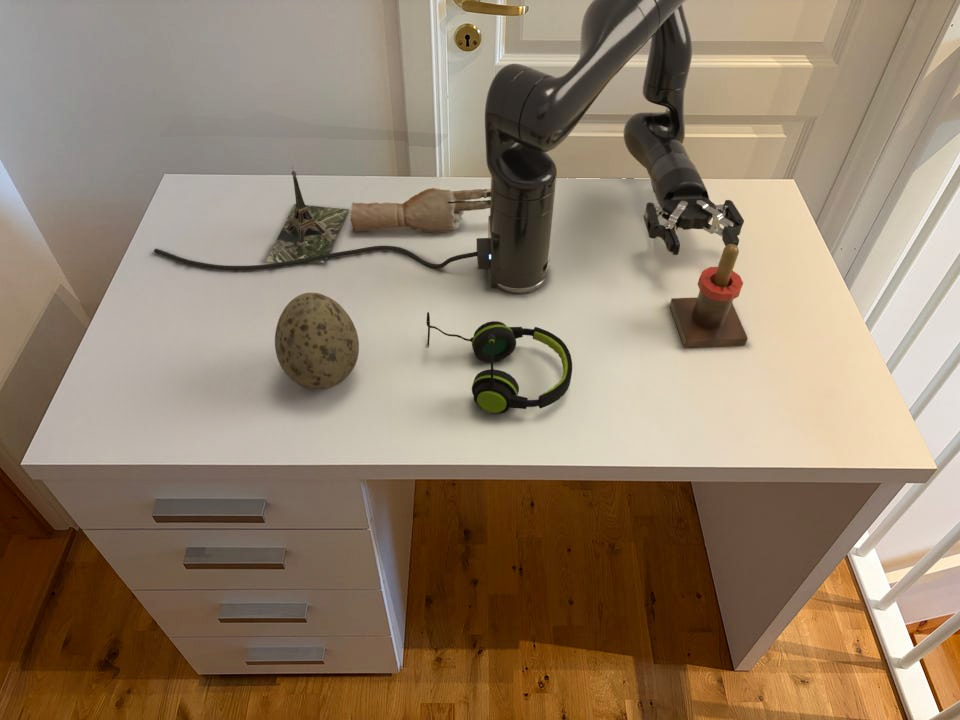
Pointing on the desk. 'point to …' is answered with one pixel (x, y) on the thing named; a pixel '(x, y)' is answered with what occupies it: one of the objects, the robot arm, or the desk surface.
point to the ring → (719, 292)
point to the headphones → (499, 387)
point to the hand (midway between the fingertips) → (705, 249)
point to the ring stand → (710, 312)
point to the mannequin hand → (420, 211)
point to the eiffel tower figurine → (307, 231)
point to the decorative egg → (316, 342)
